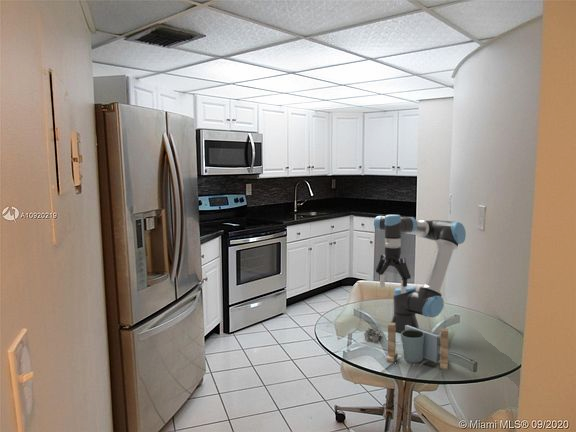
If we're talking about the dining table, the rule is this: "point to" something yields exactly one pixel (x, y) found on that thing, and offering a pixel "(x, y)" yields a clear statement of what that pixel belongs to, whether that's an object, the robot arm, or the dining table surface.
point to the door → (429, 345)
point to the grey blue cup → (413, 345)
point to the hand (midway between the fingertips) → (392, 290)
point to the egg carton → (372, 334)
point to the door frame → (393, 352)
